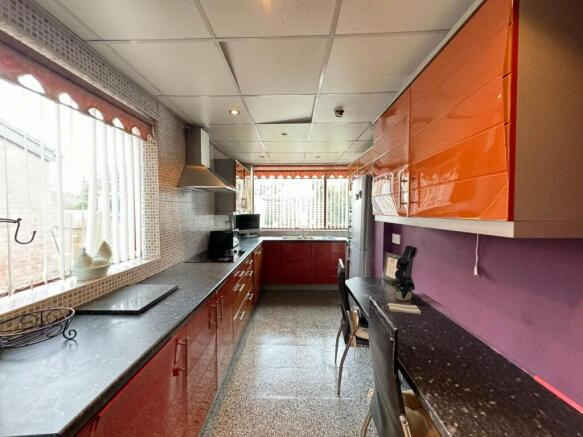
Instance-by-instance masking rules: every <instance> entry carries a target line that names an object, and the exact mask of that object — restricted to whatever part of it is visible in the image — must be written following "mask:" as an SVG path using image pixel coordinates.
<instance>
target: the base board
mask: <svg viewBox="0 0 583 437" xmlns="http://www.w3.org/2000/svg"><path fill="white" fill-rule="evenodd" d="M387 306H388V308H389V310H390V312H396V313H406V314H419V315H421V314H422V311H421V310H420V309H419V307H418V306H417V305H415V304H405V303H392V302H388V303H387Z"/></svg>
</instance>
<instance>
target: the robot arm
mask: <svg viewBox="0 0 583 437" xmlns="http://www.w3.org/2000/svg"><path fill="white" fill-rule="evenodd" d="M418 251H419V250H418V247H416V246H413V245H405V247H404V250H403V253H402V255H401V256H399V257H398V259H397V261H396V264H395V265H396V266H395V269H397V270H396V271H395V272H394V276H395V278H393V279H390V280H389V282H390V286H392V287H395V286H396V287H400V289H399V290H400V291H401V293H402V299H404V298H405V297H406V295H407V293H408V292H410V289H411V290H412V291H415V290H416V289H415V283H414V280H413V278H412V275H413V269H414V268H413V267H414V261H415V260H414V259H415V258H416V256H417V255H418ZM413 298H414V297H413V294H412V295H411V299H413Z"/></svg>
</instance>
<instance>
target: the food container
mask: <svg viewBox="0 0 583 437" xmlns="http://www.w3.org/2000/svg"><path fill="white" fill-rule="evenodd" d="M399 289H400V287H397V286H396V287H395V289H394V291H393V292H394V294H395V304H406V305H411V300H412V298H411V295H412V296H413V293H414V292H413V291H414V290H411V289H410V292H408V293H407V295H406V297H405V298H404V299H402V293H401V291H400V290H399Z"/></svg>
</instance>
